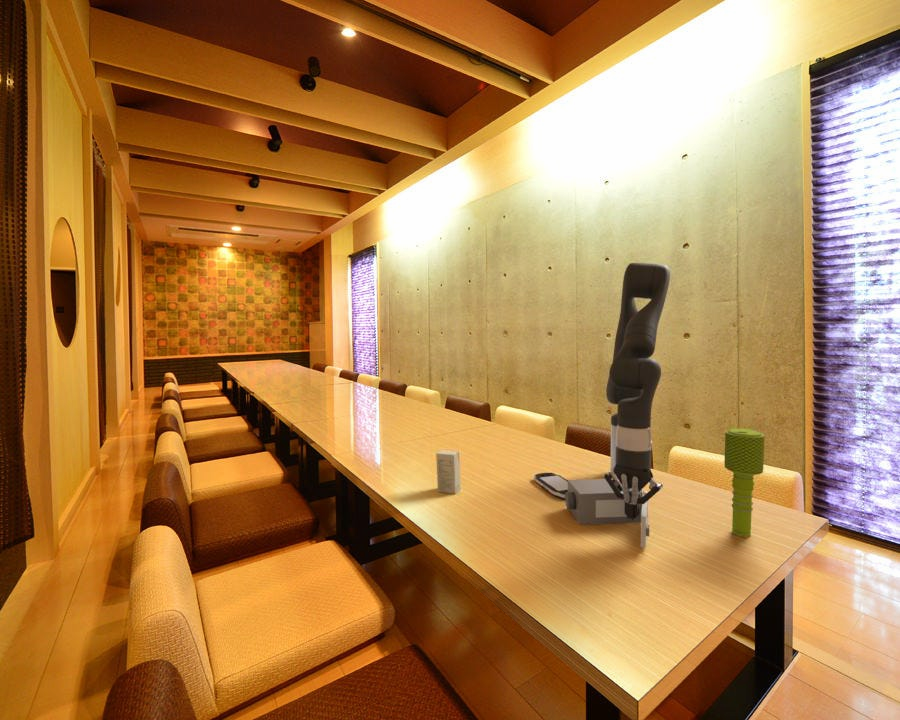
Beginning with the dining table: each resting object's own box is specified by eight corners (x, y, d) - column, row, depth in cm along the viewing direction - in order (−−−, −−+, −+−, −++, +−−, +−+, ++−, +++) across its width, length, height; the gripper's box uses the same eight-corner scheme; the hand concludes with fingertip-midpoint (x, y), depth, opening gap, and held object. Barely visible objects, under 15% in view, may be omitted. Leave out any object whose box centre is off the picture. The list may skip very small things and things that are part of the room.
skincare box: (461, 489, 132) (460, 451, 131) (455, 494, 128) (454, 455, 127) (442, 486, 135) (441, 449, 134) (436, 491, 131) (435, 452, 130)
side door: (640, 548, 95) (640, 513, 94) (642, 522, 108) (643, 490, 107) (648, 550, 94) (649, 514, 93) (650, 523, 107) (651, 491, 106)
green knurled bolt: (762, 544, 96) (766, 435, 95) (722, 536, 100) (725, 432, 99) (759, 529, 103) (762, 428, 101) (722, 522, 107) (725, 425, 105)
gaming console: (530, 480, 141) (529, 473, 140) (554, 477, 143) (554, 470, 143) (560, 503, 122) (560, 494, 122) (587, 499, 124) (587, 490, 124)
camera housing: (561, 508, 117) (561, 477, 117) (624, 506, 118) (625, 475, 117) (573, 525, 107) (574, 491, 107) (642, 523, 108) (643, 489, 107)
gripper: (598, 443, 99) (597, 515, 100) (659, 454, 90) (656, 533, 91) (611, 436, 104) (609, 504, 106) (669, 446, 95) (667, 520, 97)
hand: (631, 517), depth 99 cm, fingers closed
